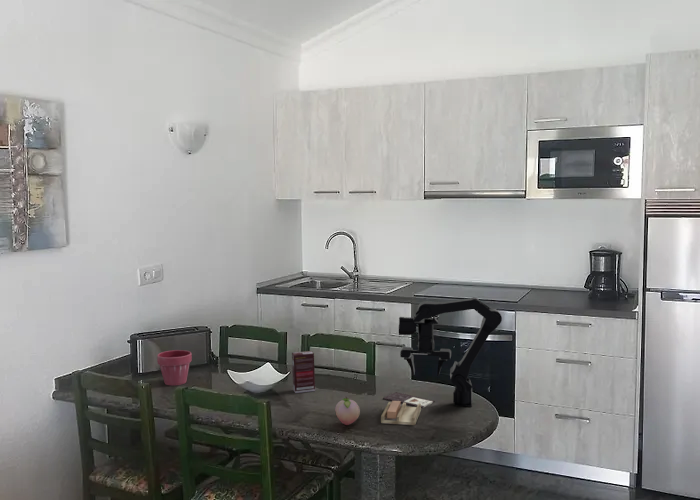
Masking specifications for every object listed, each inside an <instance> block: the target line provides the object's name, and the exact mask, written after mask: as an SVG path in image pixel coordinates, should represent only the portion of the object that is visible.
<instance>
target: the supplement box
mask: <svg viewBox="0 0 700 500" xmlns="http://www.w3.org/2000/svg"><path fill="white" fill-rule="evenodd" d="M291 365H292V366H291V369H292V371H291V372H292V390H293V392H294V393H295V394H298V393H301V394H302V393H306V392H307V393H308V392H315V391H316V374H315V353H314V352H313V351H312V350H307V351H297V352H295V351H294V352H291Z"/></svg>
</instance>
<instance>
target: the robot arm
mask: <svg viewBox="0 0 700 500" xmlns="http://www.w3.org/2000/svg"><path fill="white" fill-rule="evenodd" d="M470 310H474V311H475V312H476V313H478V314H479V315H480V316H481V317H482V320H481V324H480V327H479V330H478V331H477V333H476V334H475V335H474V338H473V340H472V341H471V343H470V345H469V346H468V348H467V350H466V352H465V353H464V355H463V357H462V359H461V360H460V361H457V360H454V363H453V365H452V366H451V367H450V368H449V371H450V372H449V376H450V381H451V383H452V385H454V386H455V388H454V390H453V391H452V392H453V399H452V400H453V401H452V402H453V404H454V406H455V407H456V406H457V407H472V406H473V385H472V382H471V378H469V374H470V371H471V367H472V364H473V363H474V362H475V360H476V358H477V357H478V355H479V353H480V351H481V350H482V348H483V346H484V344H486V343H485V342H486V341H487V340H488V338H489V336H490V335H491V334H492V333H493V332H494V331H495V330H496V329H497V328H498V326H500V324H501V323H502V321H503V317H502V314H501V313H500V311H498V309H496V308H493V307H490V306H489V305H487V304H485V303H484V302H482V301H481V300H479V298H477V297H471V298H465V299H457V300H449V301H431V300H428V301H427V300H424V301H421V302H420V303H419V304H418V306H417V311H416V312H415V313H414V314H413V316H411V317H405V316H399V318H398V319H399V320H398V336H414V334H415V333H417V336H418V337H416V339H415V340H416V341H415V345H416V347H417V348H418V349H413V347H412V346H410V347H409V346H403V347H402V348H401V350H400V358H403V360H405V361H406V362H407V364H408V366H409V368H410V371H411V373H412V375H413V376H415V372H416V369H415V363H414V361H415V360H414V356H425V357H426V356H429V357H430V356H431V357H439V358H438V363H437V370H436V372H437V373H436V375H437V376H436V377H439V375H440V372H441V369H442V366H443V364H444V363H445V362H447V361H448V360H451V357H452V350H451V349H450V348H440V350H435V340H434V325H438V324H439V321H438V319H436V318H435V317H437V316H439V315H442V314H447V313H454V312H463V311H470Z"/></svg>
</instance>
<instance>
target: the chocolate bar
mask: <svg viewBox="0 0 700 500" xmlns="http://www.w3.org/2000/svg"><path fill="white" fill-rule="evenodd" d="M382 400H384V401H388V402H392V401H401V405H403V403H406V406H409V407H417V405H418V403H419V404H421V409H423V408H425V407H428V406H430V405H432V404H433V403H435V400H434V399H428V398H424V397H420V396H416V395H410V394H406V393H401V392H398V391H395V392H393V393H391V394H389V395H386V396H384V397H383V398H382Z"/></svg>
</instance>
